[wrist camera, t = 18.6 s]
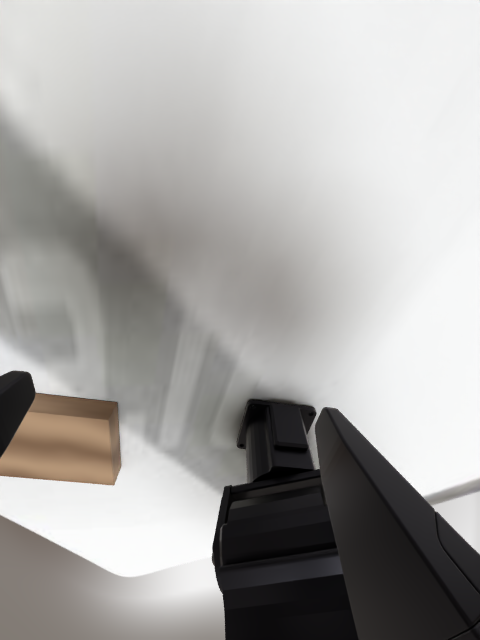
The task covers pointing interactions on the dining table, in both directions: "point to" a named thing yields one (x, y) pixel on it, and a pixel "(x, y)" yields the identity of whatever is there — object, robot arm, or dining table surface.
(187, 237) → the dining table surface
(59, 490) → the dining table surface
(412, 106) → the dining table surface
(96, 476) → the brown flat rectangular block
